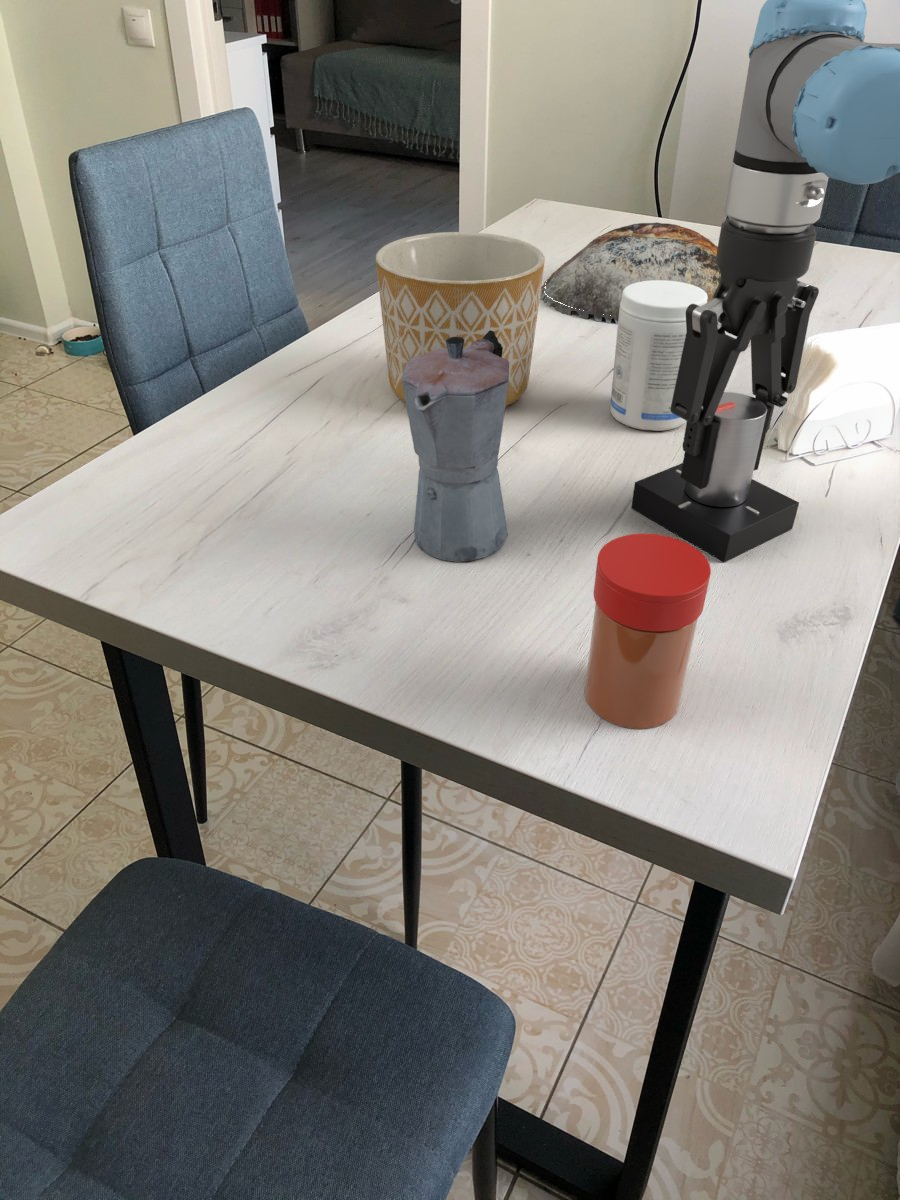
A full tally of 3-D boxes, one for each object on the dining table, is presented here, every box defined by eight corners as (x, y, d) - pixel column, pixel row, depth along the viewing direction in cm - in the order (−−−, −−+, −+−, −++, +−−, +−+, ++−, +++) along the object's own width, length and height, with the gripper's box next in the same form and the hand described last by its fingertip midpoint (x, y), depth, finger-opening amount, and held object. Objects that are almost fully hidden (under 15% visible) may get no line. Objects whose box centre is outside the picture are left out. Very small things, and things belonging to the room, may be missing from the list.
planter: (565, 405, 114) (577, 266, 104) (422, 437, 106) (420, 292, 97) (488, 350, 127) (492, 224, 118) (357, 376, 120) (349, 243, 110)
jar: (699, 703, 71) (727, 579, 64) (632, 743, 68) (653, 616, 61) (631, 654, 76) (650, 533, 69) (565, 688, 72) (578, 565, 65)
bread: (770, 328, 135) (785, 257, 129) (544, 324, 136) (548, 254, 130) (729, 269, 157) (741, 206, 151) (535, 266, 158) (538, 204, 152)
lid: (611, 557, 70) (615, 523, 68) (713, 582, 68) (721, 547, 66) (579, 614, 65) (583, 578, 63) (690, 643, 62) (697, 607, 60)
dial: (716, 471, 94) (733, 384, 89) (761, 497, 90) (782, 407, 85) (671, 486, 92) (686, 397, 86) (715, 513, 88) (734, 422, 82)
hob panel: (793, 528, 91) (800, 500, 89) (723, 563, 86) (729, 534, 85) (699, 479, 99) (704, 452, 97) (630, 508, 94) (634, 480, 92)
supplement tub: (700, 410, 113) (722, 287, 104) (674, 441, 106) (695, 313, 97) (624, 393, 117) (640, 273, 108) (595, 422, 110) (608, 296, 101)
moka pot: (379, 565, 86) (369, 355, 74) (445, 488, 97) (446, 295, 85) (476, 589, 83) (482, 374, 71) (532, 507, 94) (546, 310, 82)
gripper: (717, 250, 69) (671, 517, 83) (885, 216, 77) (818, 465, 91) (649, 226, 75) (616, 481, 88) (814, 196, 83) (760, 435, 96)
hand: (719, 472), depth 90 cm, fingers closed on dial, 6 cm apart
